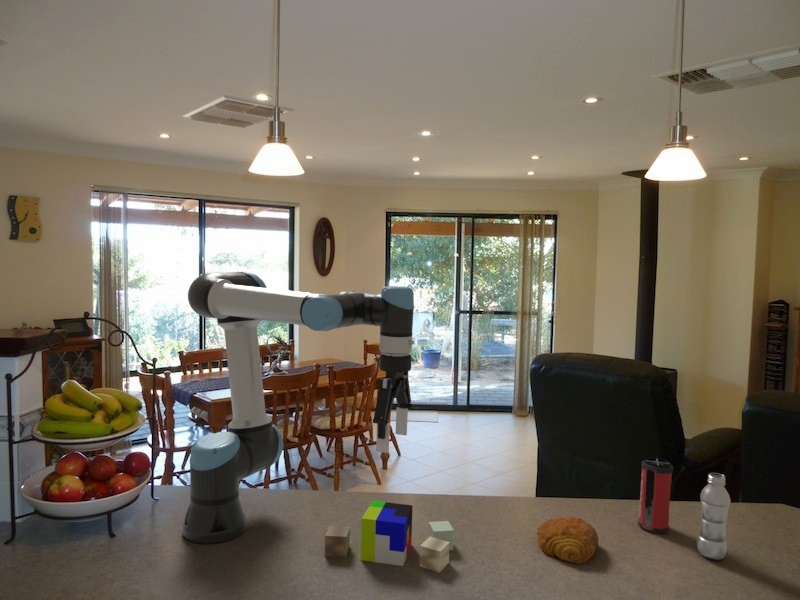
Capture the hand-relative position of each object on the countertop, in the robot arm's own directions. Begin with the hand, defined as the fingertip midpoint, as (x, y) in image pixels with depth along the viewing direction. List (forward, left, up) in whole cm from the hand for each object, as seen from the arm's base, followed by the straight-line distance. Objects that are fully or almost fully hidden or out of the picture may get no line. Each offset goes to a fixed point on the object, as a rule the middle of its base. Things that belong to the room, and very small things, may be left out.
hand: (392, 442), depth 137 cm
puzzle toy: (0, -1, -27) cm, 27 cm away
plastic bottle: (+73, +27, -27) cm, 82 cm away
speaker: (+61, +38, -27) cm, 76 cm away
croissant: (+40, +18, -27) cm, 51 cm away
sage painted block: (+11, +7, -26) cm, 29 cm away
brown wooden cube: (-11, -5, -26) cm, 29 cm away
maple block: (+12, -2, -26) cm, 29 cm away
